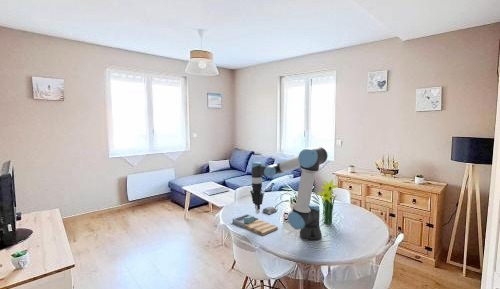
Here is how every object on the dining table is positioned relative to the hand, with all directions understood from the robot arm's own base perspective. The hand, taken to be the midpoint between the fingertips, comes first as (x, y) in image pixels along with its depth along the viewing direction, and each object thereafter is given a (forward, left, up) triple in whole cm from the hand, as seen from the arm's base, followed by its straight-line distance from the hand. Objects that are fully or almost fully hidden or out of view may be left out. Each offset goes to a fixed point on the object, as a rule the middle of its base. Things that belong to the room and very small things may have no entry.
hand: (257, 213), depth 202 cm
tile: (+9, 0, -10) cm, 13 cm away
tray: (+14, 0, -11) cm, 18 cm away
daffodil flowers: (-35, -43, -11) cm, 56 cm away
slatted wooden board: (-3, 0, -11) cm, 11 cm away
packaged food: (+12, -27, -12) cm, 32 cm away
